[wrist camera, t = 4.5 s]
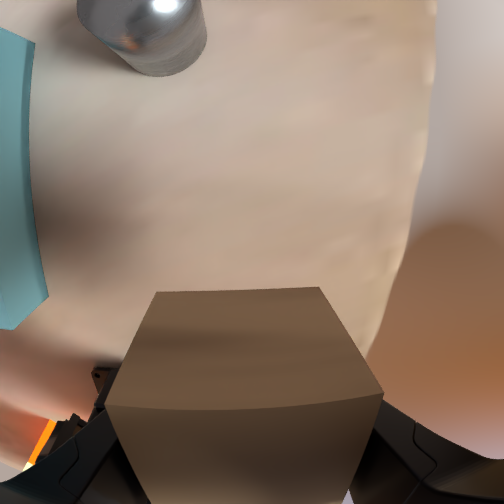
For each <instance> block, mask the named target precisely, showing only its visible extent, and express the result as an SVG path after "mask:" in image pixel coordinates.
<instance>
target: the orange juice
mask: <svg viewBox="0 0 504 504" xmlns="http://www.w3.org/2000/svg"><path fill="white" fill-rule="evenodd" d="M55 425H56V423H55V422H54V421H52V420H50V421H49V422H48V424H47V426H46V428H45V430H44V432H43V434H42V435H41V437H40V439H39V441H38V443H37V445H36V447H35V449H34V451H33V453H32V455H31V457H30V459H29V461H28V462H27V464H26V466H25V468H24V470H23V471H25V470H26V469H28V468H30V467H31V466H33V465H34V464H35V461H36V458H37V456H38V454H39V453H40V451H41V449H42V448H43V446H44V445H45V443H46V441H47V440H48V438H49V436H50V434H51V433H52V431H53V429H54V427H55Z"/></svg>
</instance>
